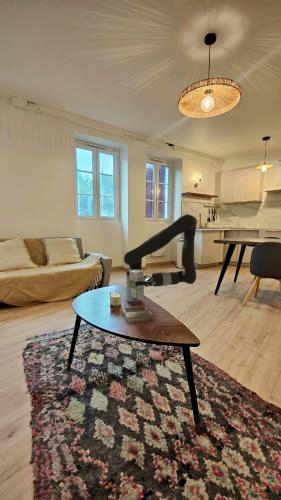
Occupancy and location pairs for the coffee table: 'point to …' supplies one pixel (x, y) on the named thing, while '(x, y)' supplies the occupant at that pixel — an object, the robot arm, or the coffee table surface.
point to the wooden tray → (137, 314)
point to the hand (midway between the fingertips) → (133, 281)
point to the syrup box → (135, 290)
